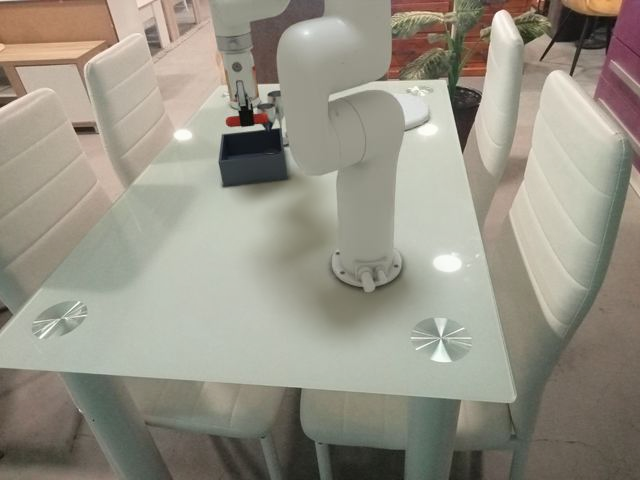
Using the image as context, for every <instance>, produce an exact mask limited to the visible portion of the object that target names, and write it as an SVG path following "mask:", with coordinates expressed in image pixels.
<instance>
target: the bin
mask: <svg viewBox="0 0 640 480" xmlns="http://www.w3.org/2000/svg"><path fill="white" fill-rule="evenodd" d="M282 135H283V127H282V128H280V127H275V128H272V129H271V130H270V131H269V132H268V131H267V130H266V129H265V128H264V129H259V130H258V129H257V130H247V131H240V132H238V131H237V132H229V133H222V134H221V137H220V138H221V139H220V146H219V153H218V162H217V163H218V168H219V172H220V176H221V181H222V185H223V187H230V186H231V187H232V186H239V185H240V186H241V185H248V184H249V185H250V184H257V183H266V182H275V181H283V180H288V171H287V162H286V154H285V145H284V144H283V137H284V136H282ZM271 149H274V150H280V151H279V152H277V153H274V154H266V153H264V151H268V150H271Z"/></svg>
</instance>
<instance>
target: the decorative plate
mask: <svg viewBox="0 0 640 480" xmlns="http://www.w3.org/2000/svg"><path fill="white" fill-rule="evenodd" d="M389 93H390V94H392V95H393V96H394V97H395V98H396V99H397V100H398V101H399V103H400V104H401V106H402V109H403V112H404V117H405V130H404V131H408V130H411V129H413V128H416V127H419V126H422V125H423V124H424V123H425V122H427V121H428V120H429V119H430V106H429V104H428V102H426V100H425V99H424V98H421V97H418V96H415V95H412V94H407V93H399V92H397V93H396V92H389Z"/></svg>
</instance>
